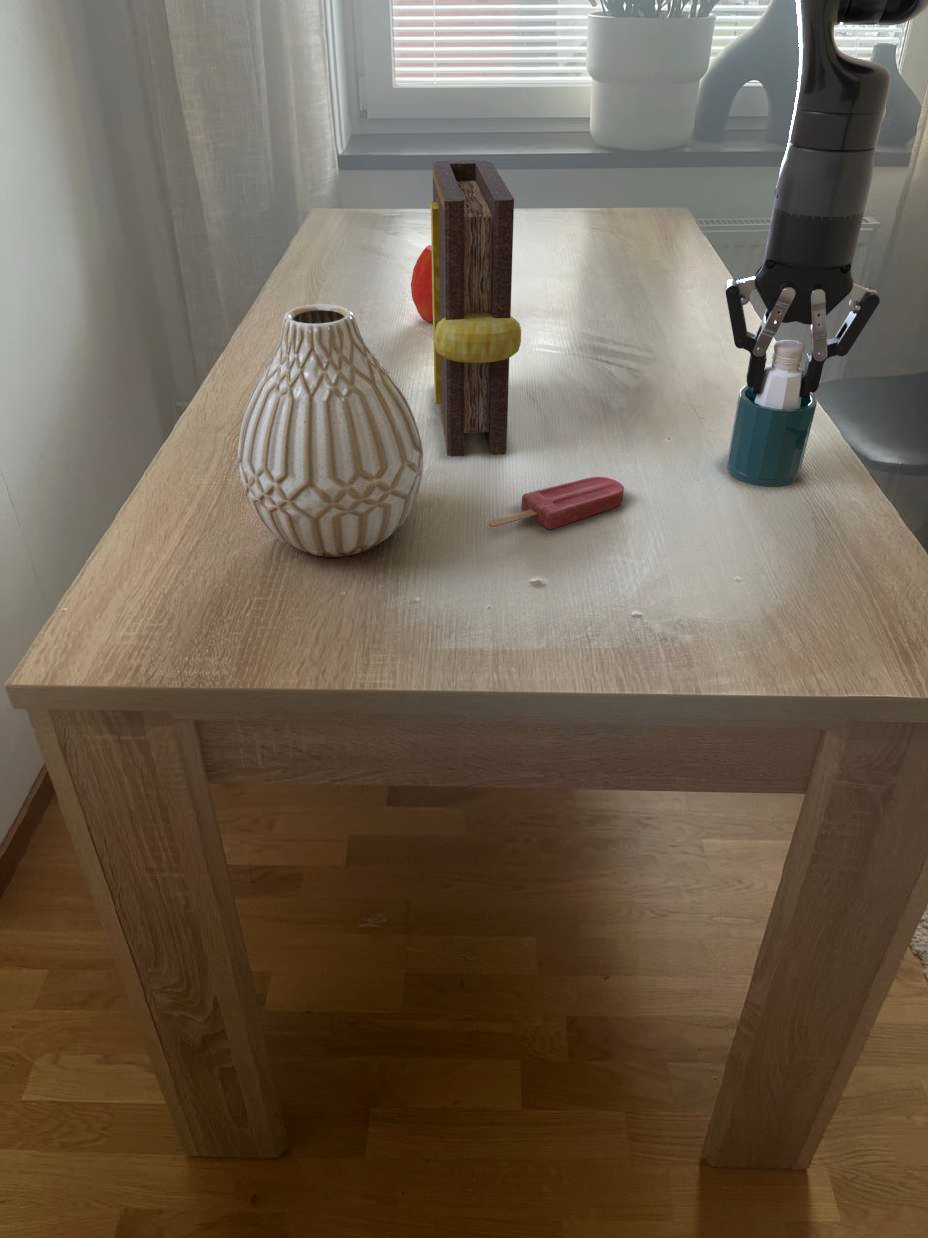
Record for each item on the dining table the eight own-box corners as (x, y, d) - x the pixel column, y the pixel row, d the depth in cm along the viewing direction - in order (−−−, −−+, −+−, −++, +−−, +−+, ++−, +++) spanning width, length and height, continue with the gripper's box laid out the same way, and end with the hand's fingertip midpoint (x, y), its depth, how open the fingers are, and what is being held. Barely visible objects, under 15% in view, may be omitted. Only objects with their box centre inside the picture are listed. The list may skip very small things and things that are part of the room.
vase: (322, 477, 93) (301, 274, 81) (457, 517, 87) (456, 302, 75) (212, 549, 82) (170, 325, 70) (358, 600, 75) (339, 363, 64)
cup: (807, 465, 95) (825, 391, 91) (786, 493, 91) (804, 416, 86) (740, 448, 99) (754, 376, 94) (716, 474, 94) (729, 400, 89)
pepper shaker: (789, 440, 95) (813, 334, 89) (800, 463, 91) (825, 354, 84) (736, 438, 95) (756, 332, 89) (743, 461, 91) (765, 352, 85)
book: (426, 386, 112) (421, 160, 98) (495, 383, 113) (500, 159, 98) (438, 468, 95) (434, 208, 80) (520, 465, 95) (531, 206, 81)
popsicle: (476, 506, 85) (604, 470, 91) (475, 522, 86) (603, 486, 92) (503, 527, 81) (634, 488, 88) (502, 544, 82) (632, 504, 89)
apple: (467, 309, 136) (468, 233, 130) (469, 327, 130) (470, 248, 124) (412, 309, 136) (409, 233, 130) (411, 328, 130) (408, 248, 123)
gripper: (735, 208, 78) (704, 401, 88) (914, 216, 75) (861, 414, 85) (734, 190, 84) (705, 373, 94) (900, 197, 81) (852, 384, 91)
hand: (780, 392), depth 89 cm, fingers closed on pepper shaker, 4 cm apart
